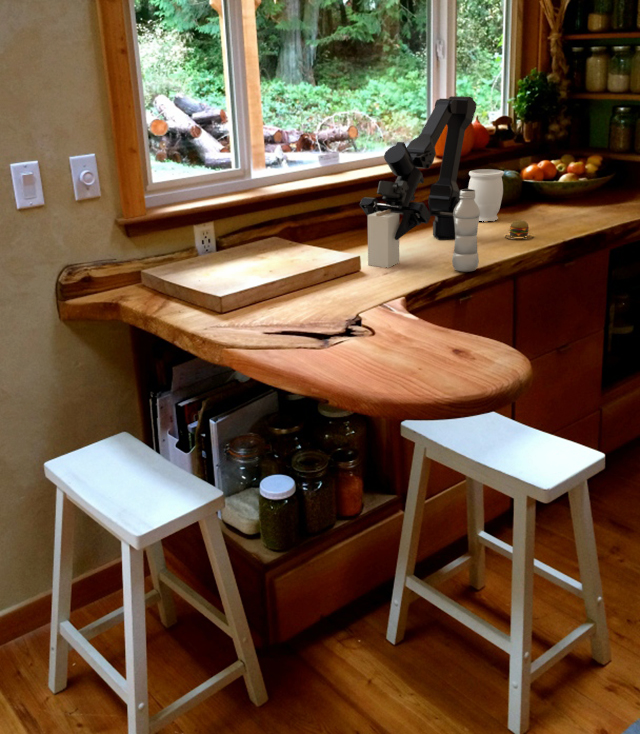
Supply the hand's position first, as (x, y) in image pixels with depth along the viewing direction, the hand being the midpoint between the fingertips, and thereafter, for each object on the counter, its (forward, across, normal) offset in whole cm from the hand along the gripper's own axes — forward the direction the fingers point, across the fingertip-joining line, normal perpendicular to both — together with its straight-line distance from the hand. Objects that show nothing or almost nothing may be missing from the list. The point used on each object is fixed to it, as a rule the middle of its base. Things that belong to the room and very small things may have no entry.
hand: (382, 237), depth 210 cm
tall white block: (+5, 0, +5) cm, 7 cm away
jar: (-38, -1, +48) cm, 61 cm away
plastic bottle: (+2, +21, +9) cm, 23 cm away
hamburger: (-26, +18, +37) cm, 48 cm away
